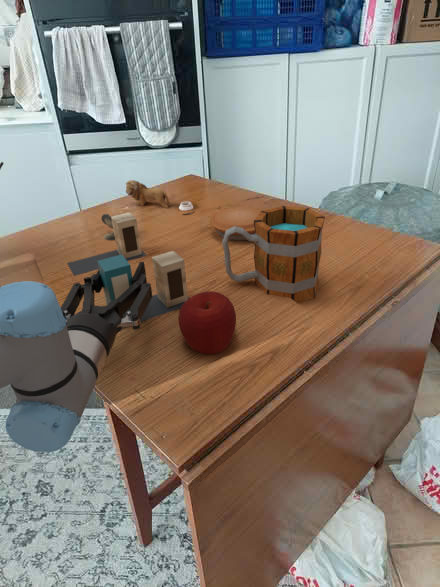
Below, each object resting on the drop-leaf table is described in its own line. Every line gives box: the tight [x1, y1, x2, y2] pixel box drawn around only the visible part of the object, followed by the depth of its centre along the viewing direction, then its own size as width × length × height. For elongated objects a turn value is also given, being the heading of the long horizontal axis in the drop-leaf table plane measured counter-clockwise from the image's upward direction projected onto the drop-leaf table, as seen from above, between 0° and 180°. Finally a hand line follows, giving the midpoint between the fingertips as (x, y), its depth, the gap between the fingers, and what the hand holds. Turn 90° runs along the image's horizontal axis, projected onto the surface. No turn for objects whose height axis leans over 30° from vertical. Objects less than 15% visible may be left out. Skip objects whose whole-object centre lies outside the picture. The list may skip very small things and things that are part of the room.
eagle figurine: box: [101, 213, 115, 241], centre depth 110 cm, size 8×7×9 cm
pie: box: [209, 206, 262, 242], centre depth 111 cm, size 15×16×5 cm
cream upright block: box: [151, 250, 189, 308], centre depth 82 cm, size 5×4×9 cm
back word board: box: [66, 249, 147, 277], centre depth 100 cm, size 7×17×2 cm, turn 119°
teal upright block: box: [97, 254, 133, 311], centre depth 76 cm, size 5×4×9 cm
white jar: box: [178, 200, 196, 216], centre depth 124 cm, size 5×3×5 cm
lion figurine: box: [125, 179, 172, 209], centre depth 125 cm, size 15×5×9 cm, turn 80°
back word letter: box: [110, 211, 143, 259], centre depth 99 cm, size 5×4×9 cm
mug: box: [221, 205, 326, 304], centre depth 85 cm, size 20×14×15 cm
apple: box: [177, 291, 237, 355], centre depth 71 cm, size 10×10×10 cm
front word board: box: [122, 294, 190, 329], centre depth 82 cm, size 7×17×2 cm, turn 119°
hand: (124, 268), depth 80 cm, fingers closed on teal upright block, 6 cm apart
